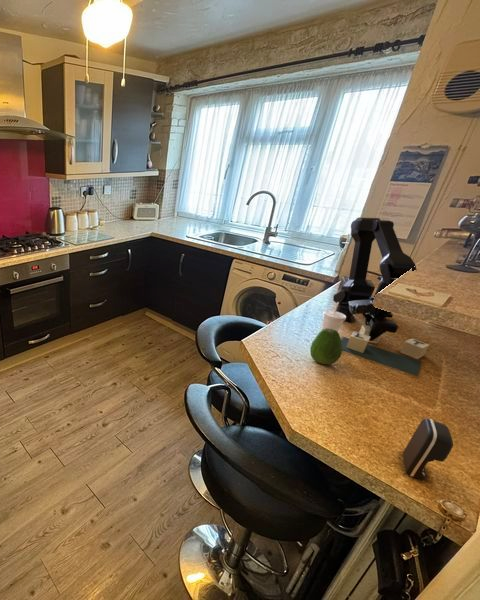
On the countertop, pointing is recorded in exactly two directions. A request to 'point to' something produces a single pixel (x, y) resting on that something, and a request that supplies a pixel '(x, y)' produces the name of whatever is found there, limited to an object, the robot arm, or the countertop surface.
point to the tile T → (414, 348)
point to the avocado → (326, 347)
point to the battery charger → (426, 447)
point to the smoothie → (333, 319)
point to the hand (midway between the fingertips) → (368, 337)
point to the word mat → (385, 358)
